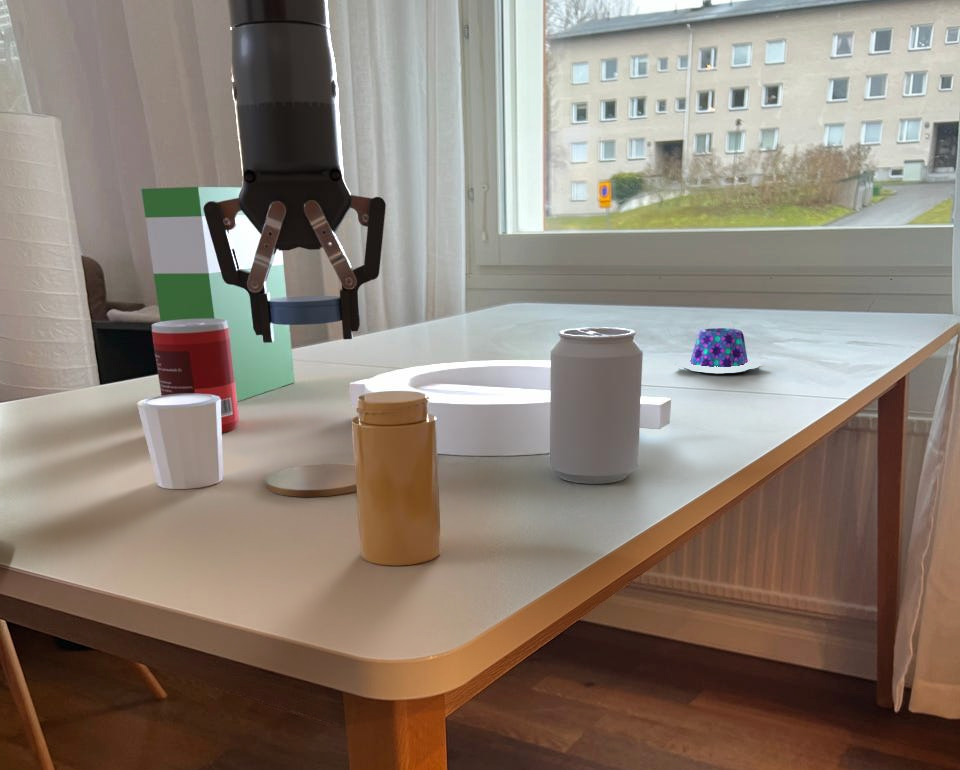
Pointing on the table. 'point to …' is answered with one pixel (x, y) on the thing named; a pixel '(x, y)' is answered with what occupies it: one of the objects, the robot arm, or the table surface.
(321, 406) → the table surface
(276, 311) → the lid
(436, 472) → the jar
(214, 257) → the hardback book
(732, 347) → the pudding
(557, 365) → the can
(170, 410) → the white faceted cup
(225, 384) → the canned food
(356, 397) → the white circle with bar
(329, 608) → the table surface
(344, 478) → the coaster
